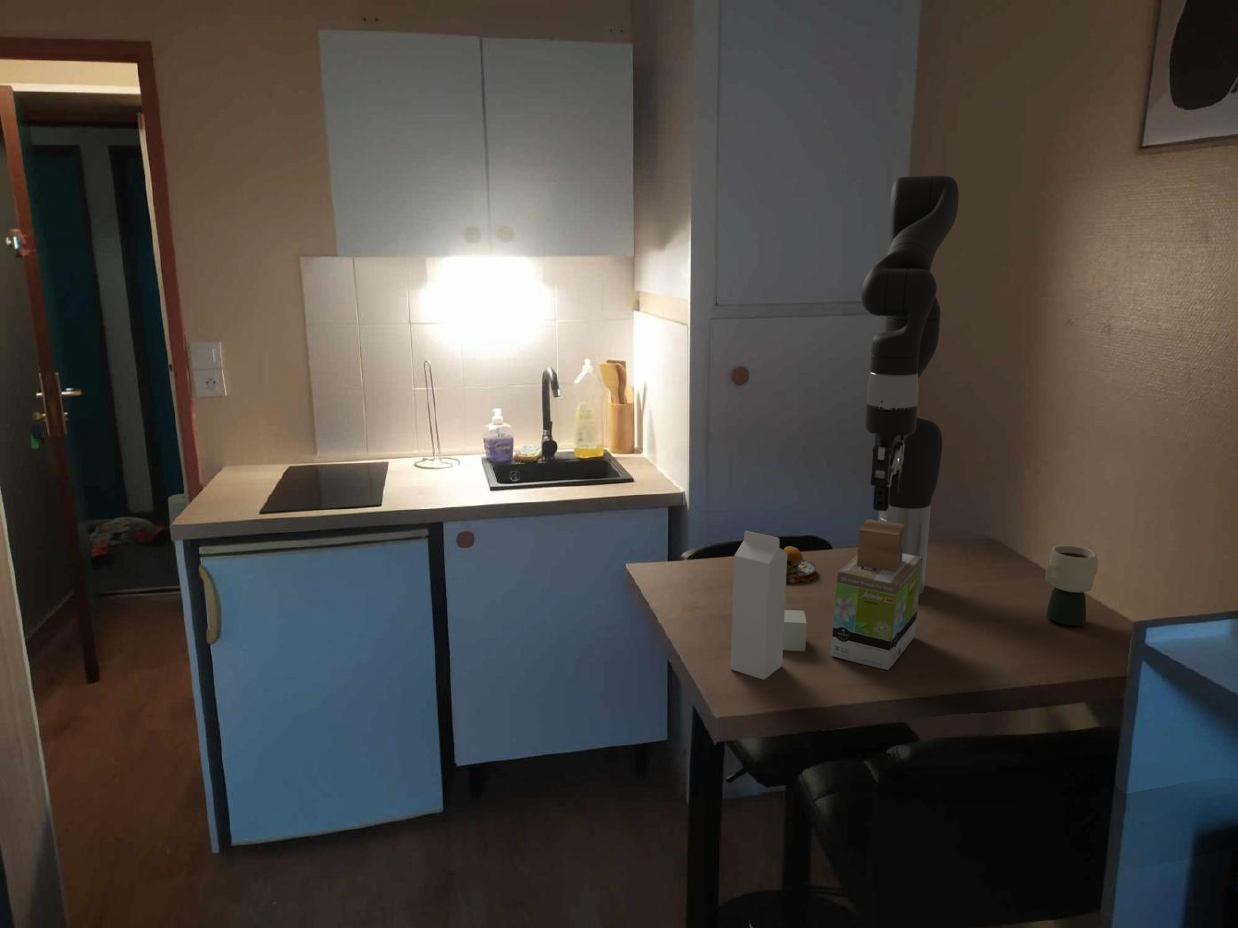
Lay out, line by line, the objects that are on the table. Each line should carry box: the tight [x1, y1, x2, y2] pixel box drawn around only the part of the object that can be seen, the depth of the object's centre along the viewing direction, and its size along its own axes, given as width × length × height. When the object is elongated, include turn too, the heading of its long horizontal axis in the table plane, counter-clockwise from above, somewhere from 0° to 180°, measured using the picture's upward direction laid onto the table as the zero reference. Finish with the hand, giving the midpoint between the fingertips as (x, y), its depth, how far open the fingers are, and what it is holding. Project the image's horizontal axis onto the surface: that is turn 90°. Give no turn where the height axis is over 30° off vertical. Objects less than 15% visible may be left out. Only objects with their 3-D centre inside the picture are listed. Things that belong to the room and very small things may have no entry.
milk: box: [730, 530, 787, 681], centre depth 144 cm, size 6×6×22 cm
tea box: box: [830, 553, 922, 671], centre depth 152 cm, size 15×10×15 cm, turn 148°
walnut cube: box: [857, 518, 905, 572], centre depth 149 cm, size 6×6×6 cm
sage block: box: [783, 609, 808, 652], centre depth 154 cm, size 5×5×5 cm
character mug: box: [1044, 544, 1099, 627], centre depth 162 cm, size 11×7×13 cm, turn 109°
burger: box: [783, 545, 817, 585], centre depth 186 cm, size 12×12×8 cm
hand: (885, 502), depth 147 cm, fingers open, 8 cm apart
